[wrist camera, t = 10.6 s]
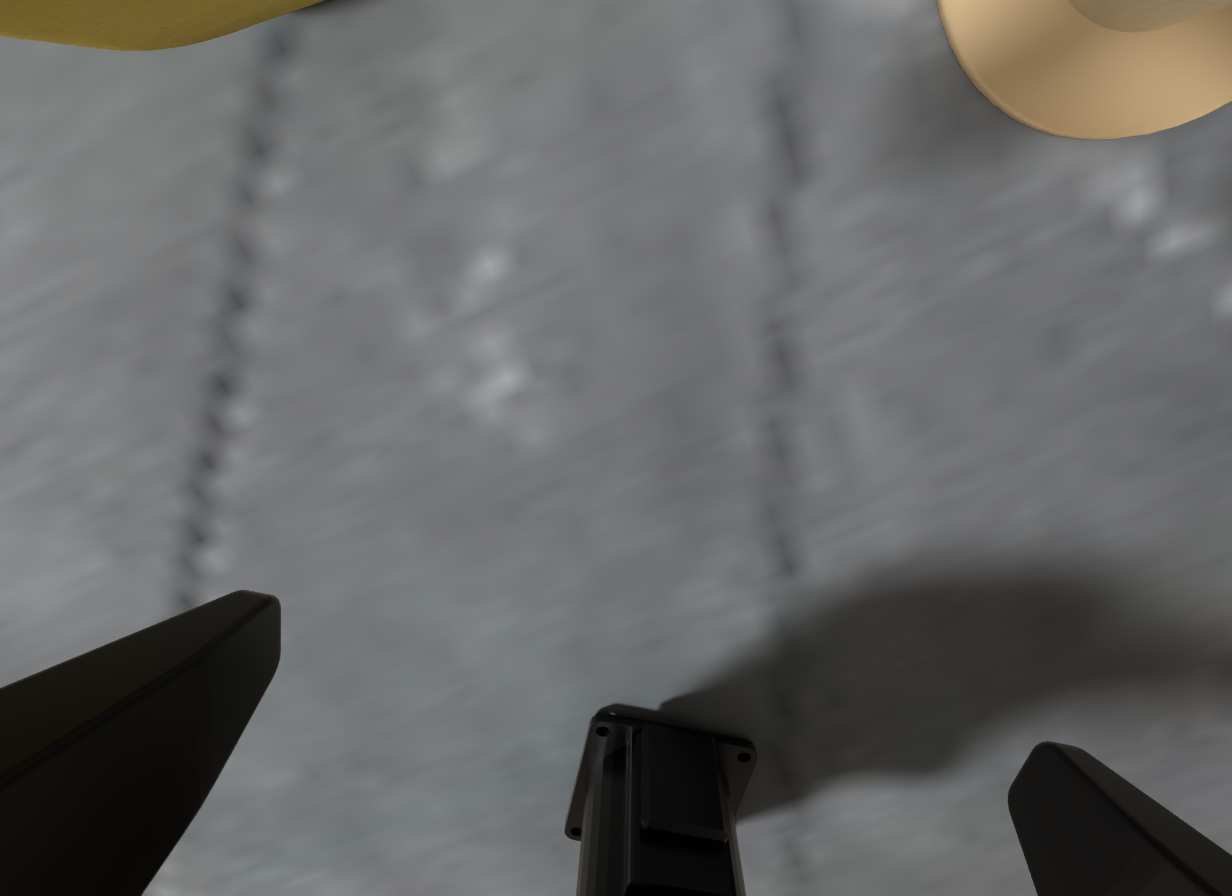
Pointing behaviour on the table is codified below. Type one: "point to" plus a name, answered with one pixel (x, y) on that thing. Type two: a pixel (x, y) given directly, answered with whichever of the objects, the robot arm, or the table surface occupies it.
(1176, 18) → the cream glossy rounded body
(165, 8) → the flower pot
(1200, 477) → the table surface
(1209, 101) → the cork coaster
